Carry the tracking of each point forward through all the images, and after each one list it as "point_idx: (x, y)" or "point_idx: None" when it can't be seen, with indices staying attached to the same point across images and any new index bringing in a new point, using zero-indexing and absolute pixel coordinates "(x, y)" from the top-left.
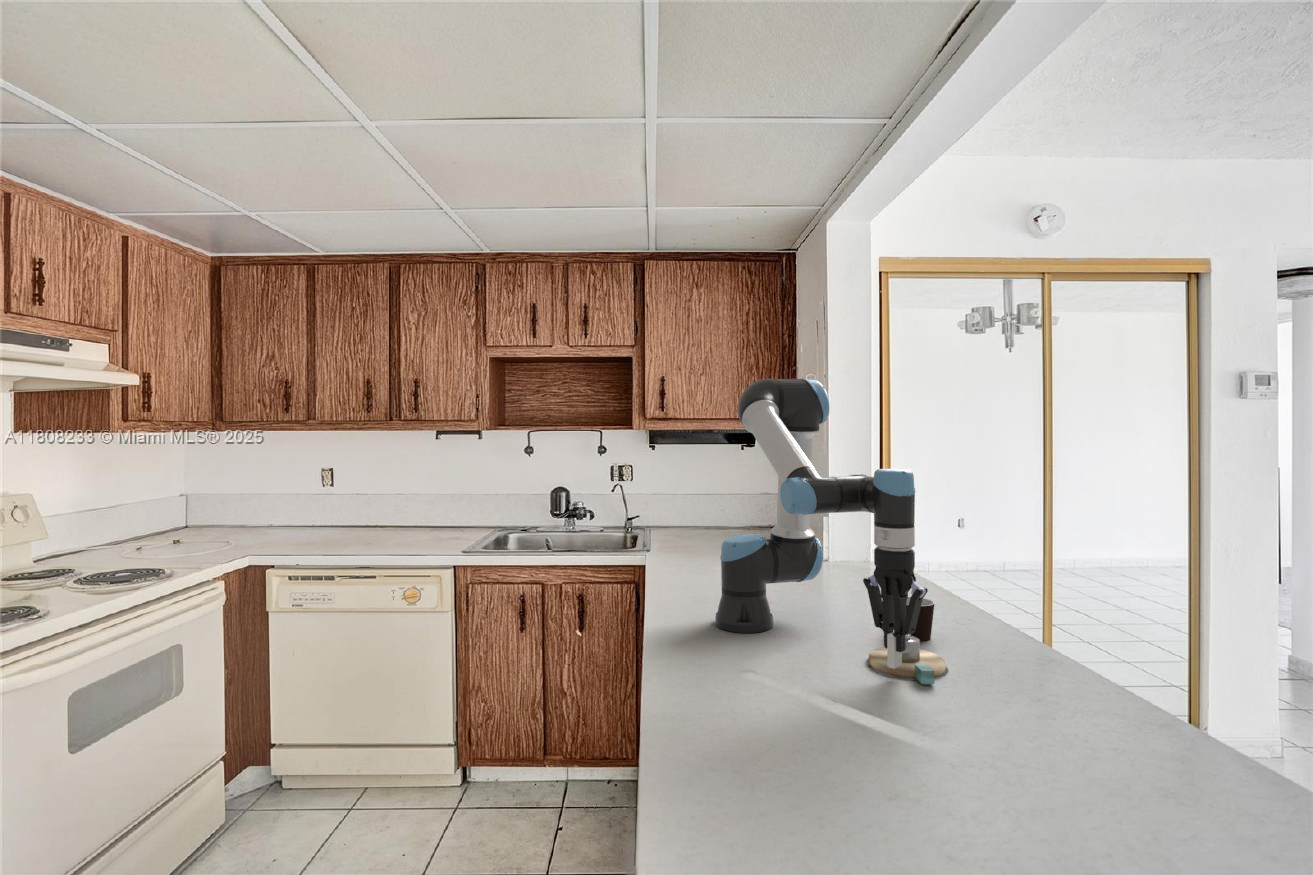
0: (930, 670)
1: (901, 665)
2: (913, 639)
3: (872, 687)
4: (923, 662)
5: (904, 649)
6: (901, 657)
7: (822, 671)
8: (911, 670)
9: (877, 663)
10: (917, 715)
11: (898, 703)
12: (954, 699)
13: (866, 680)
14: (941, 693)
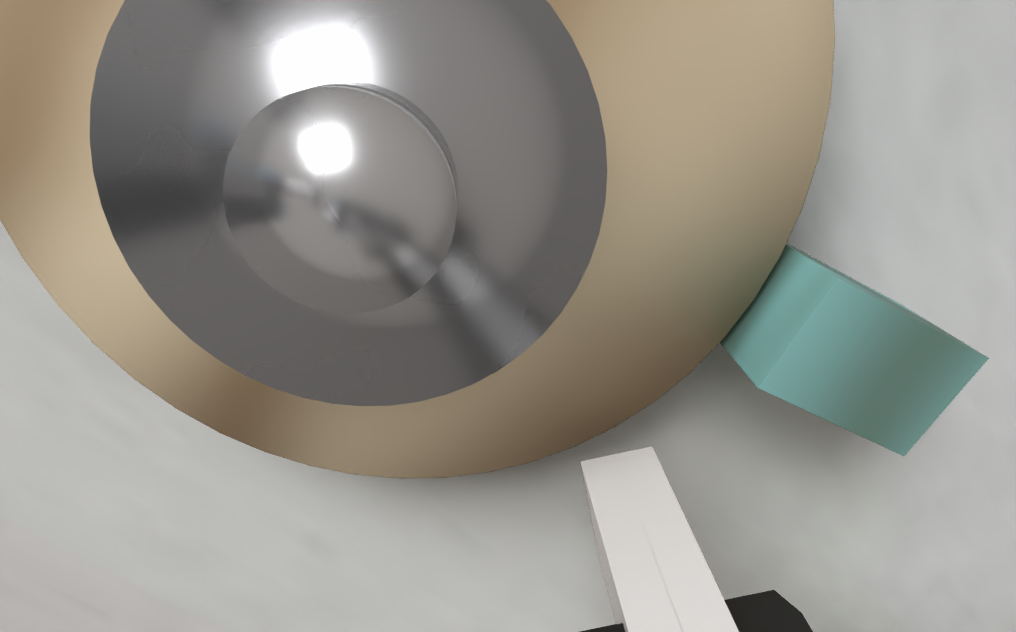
0: (959, 386)
1: (655, 456)
2: (449, 61)
3: (528, 535)
4: (607, 57)
5: (792, 615)
6: (679, 507)
7: (149, 623)
8: (691, 354)
9: (399, 476)
10: (945, 580)
11: (786, 562)
12: (1002, 225)
13: (412, 494)
14: (880, 218)
